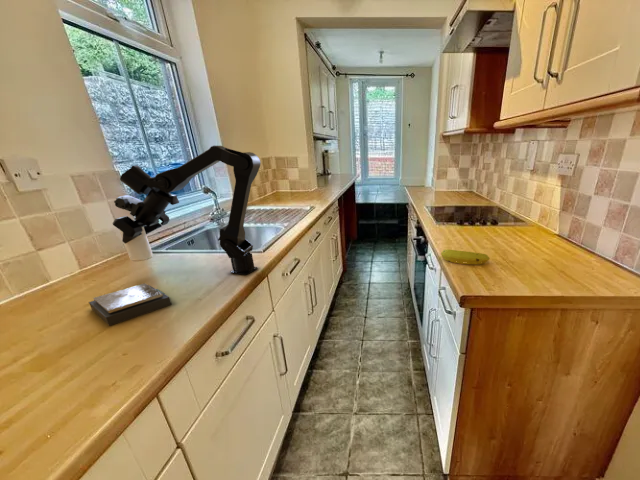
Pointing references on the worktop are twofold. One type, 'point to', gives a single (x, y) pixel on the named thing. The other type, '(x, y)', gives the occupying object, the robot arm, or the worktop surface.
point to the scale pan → (127, 297)
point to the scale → (130, 309)
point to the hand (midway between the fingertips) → (131, 239)
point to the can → (139, 247)
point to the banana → (464, 257)
